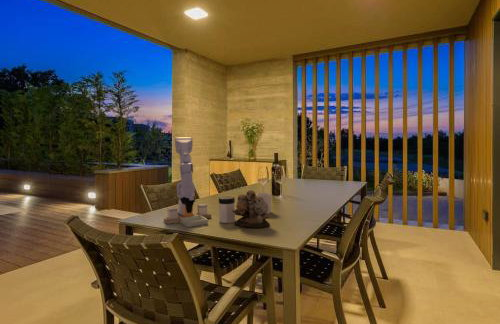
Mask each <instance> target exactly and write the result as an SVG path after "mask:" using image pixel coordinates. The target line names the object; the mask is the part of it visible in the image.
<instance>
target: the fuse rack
mask: <svg viewBox="0 0 500 324" xmlns="http://www.w3.org/2000/svg"><path fill="white" fill-rule="evenodd" d="M193 216H198V212H195V213H194V214H193ZM201 216H203V217H205V218H209V219H212V213H209V212H207V215H201ZM180 218H184V217H183V215H181V214H179V215H178V219H172V220H168V216H165V217H163V222H164V221H165V222H166V223H167V224H166V223H165V222H164V223H165V224H166V225H172V224H171V223H174V224H179V223H178V222H180Z"/></svg>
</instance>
